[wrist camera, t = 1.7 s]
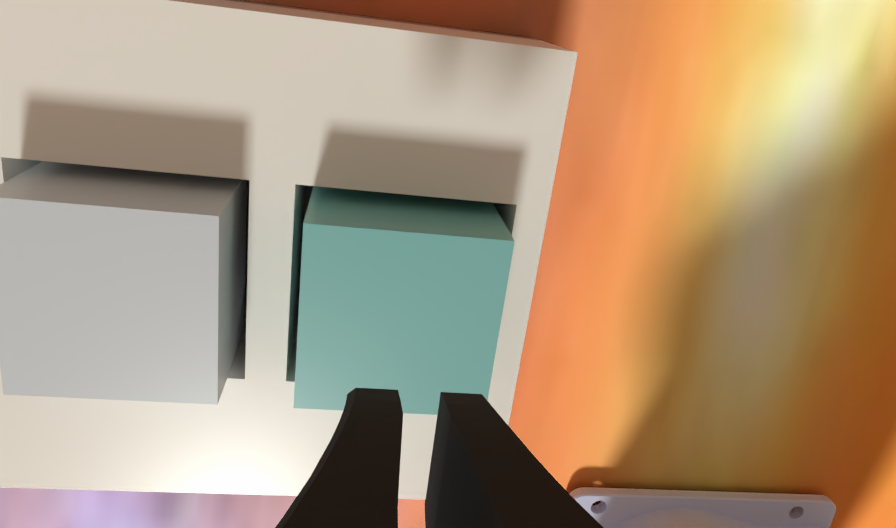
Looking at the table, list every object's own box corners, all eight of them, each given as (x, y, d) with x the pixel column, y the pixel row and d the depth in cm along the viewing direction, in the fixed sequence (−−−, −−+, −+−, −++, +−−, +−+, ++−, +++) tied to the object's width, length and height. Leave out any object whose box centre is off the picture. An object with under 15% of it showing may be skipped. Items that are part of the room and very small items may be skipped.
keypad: (532, 37, 17) (577, 52, 14) (472, 411, 21) (494, 501, 18) (-236, -62, 15) (-438, -77, 11) (-144, 382, 19) (-269, 479, 15)
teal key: (487, 194, 16) (514, 240, 13) (465, 344, 18) (484, 417, 15) (315, 178, 16) (303, 223, 13) (306, 335, 17) (293, 408, 14)
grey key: (247, 171, 15) (219, 216, 13) (243, 331, 17) (217, 404, 14) (56, 153, 15) (-21, 195, 12) (69, 320, 16) (3, 394, 13)
